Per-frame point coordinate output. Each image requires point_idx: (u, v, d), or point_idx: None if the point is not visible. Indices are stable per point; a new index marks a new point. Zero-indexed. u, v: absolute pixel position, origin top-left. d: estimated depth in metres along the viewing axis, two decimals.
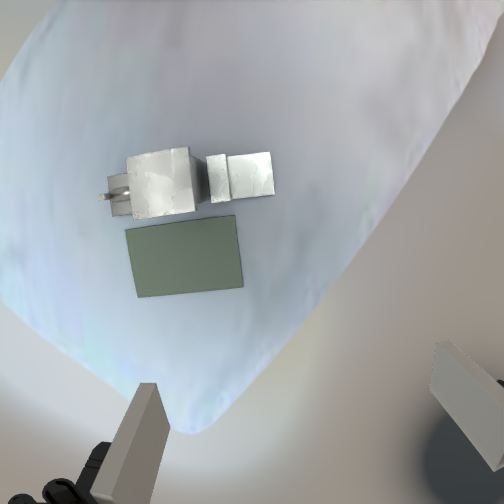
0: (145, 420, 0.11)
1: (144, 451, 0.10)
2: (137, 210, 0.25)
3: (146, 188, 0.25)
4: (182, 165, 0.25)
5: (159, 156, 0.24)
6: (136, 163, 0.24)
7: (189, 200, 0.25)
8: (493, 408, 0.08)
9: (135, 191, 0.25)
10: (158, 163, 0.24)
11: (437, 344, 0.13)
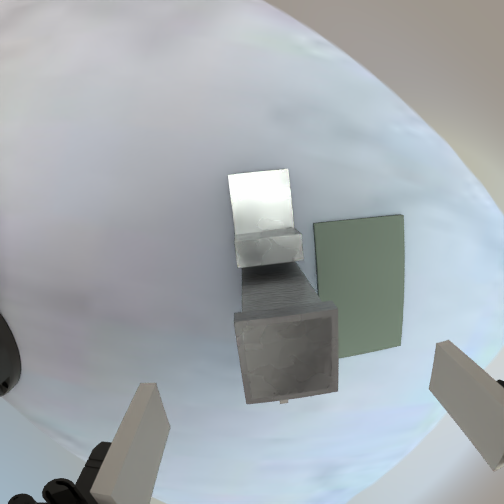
0: (145, 420, 0.11)
1: (144, 451, 0.10)
2: (325, 387, 0.17)
3: (296, 377, 0.16)
4: (265, 328, 0.16)
5: (248, 361, 0.16)
6: (256, 391, 0.17)
7: (321, 317, 0.16)
8: (493, 408, 0.08)
9: (298, 390, 0.17)
10: (259, 363, 0.16)
11: (437, 345, 0.13)
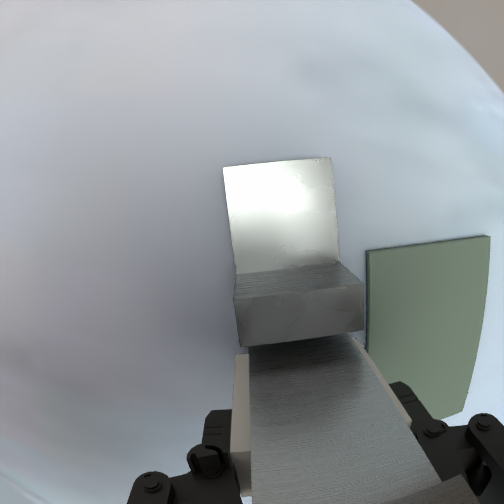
0: None
1: None
2: None
3: None
4: None
5: None
6: None
7: None
8: None
9: None
10: None
11: None
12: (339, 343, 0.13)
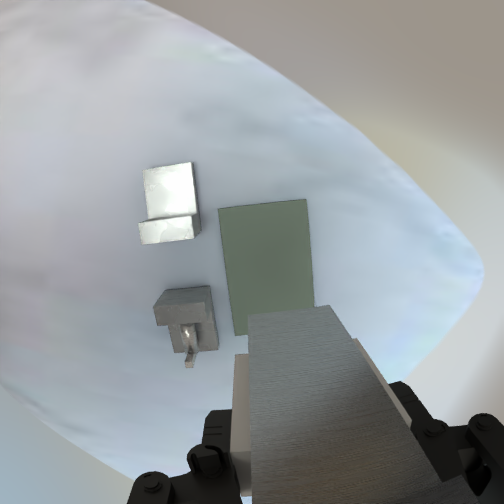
0: None
1: None
2: None
3: None
4: None
5: None
6: None
7: None
8: None
9: None
10: None
11: None
12: (339, 343, 0.13)
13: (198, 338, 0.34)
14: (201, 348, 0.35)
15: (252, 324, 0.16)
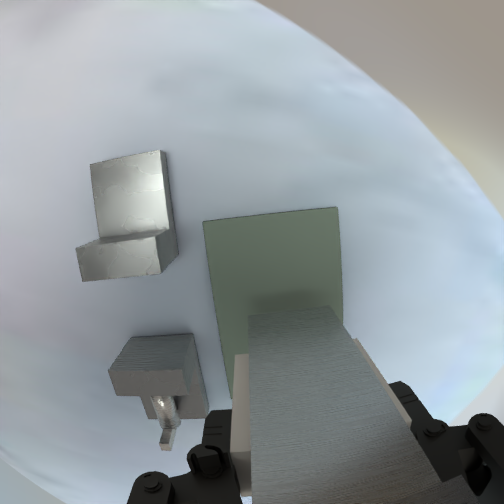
0: None
1: None
2: None
3: None
4: None
5: None
6: None
7: None
8: None
9: None
10: None
11: None
12: (339, 343, 0.13)
13: (179, 403, 0.23)
14: (184, 415, 0.23)
15: (252, 324, 0.16)
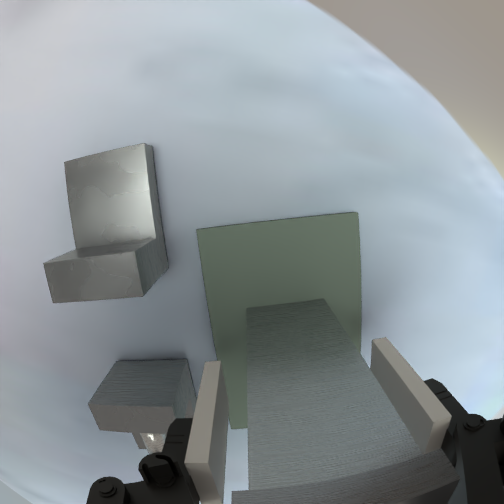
0: (218, 394, 0.12)
1: (219, 423, 0.12)
2: None
3: None
4: None
5: None
6: None
7: (425, 499, 0.05)
8: (414, 406, 0.10)
9: None
10: None
11: (372, 341, 0.15)
12: (331, 332, 0.14)
13: None
14: None
15: (250, 316, 0.17)
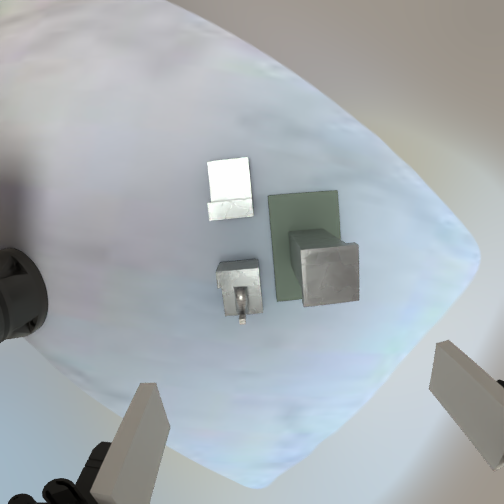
0: (145, 420, 0.11)
1: (144, 451, 0.10)
2: (351, 296, 0.29)
3: (334, 288, 0.28)
4: (317, 254, 0.28)
5: (307, 275, 0.28)
6: (311, 297, 0.29)
7: (349, 249, 0.28)
8: (493, 408, 0.08)
9: (335, 298, 0.29)
10: (313, 277, 0.28)
11: (437, 344, 0.13)
12: (325, 233, 0.37)
13: None
14: (249, 311, 0.43)
15: (291, 232, 0.40)
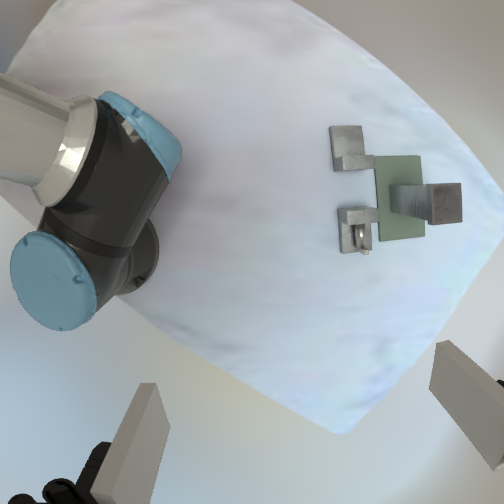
0: (145, 420, 0.11)
1: (144, 451, 0.10)
2: (458, 219, 0.36)
3: (449, 212, 0.36)
4: (439, 188, 0.36)
5: (434, 202, 0.36)
6: (436, 218, 0.36)
7: (456, 186, 0.36)
8: (493, 408, 0.08)
9: (449, 219, 0.36)
10: (437, 203, 0.36)
11: (437, 345, 0.13)
12: (421, 184, 0.45)
13: None
14: None
15: None
